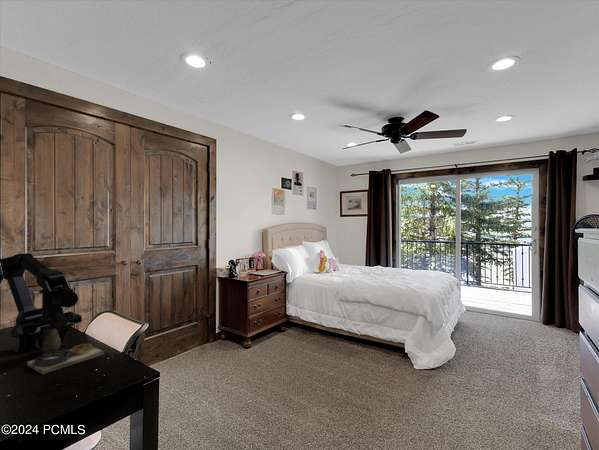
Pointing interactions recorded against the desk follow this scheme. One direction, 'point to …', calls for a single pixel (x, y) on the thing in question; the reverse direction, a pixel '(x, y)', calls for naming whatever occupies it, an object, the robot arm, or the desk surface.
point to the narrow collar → (82, 349)
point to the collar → (64, 355)
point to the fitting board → (71, 361)
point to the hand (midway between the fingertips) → (50, 345)
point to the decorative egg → (51, 340)
